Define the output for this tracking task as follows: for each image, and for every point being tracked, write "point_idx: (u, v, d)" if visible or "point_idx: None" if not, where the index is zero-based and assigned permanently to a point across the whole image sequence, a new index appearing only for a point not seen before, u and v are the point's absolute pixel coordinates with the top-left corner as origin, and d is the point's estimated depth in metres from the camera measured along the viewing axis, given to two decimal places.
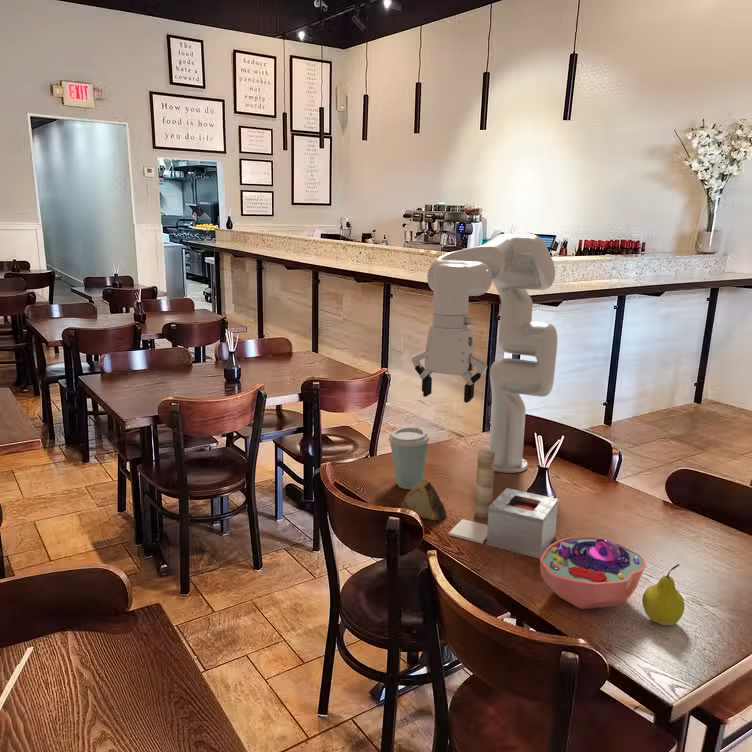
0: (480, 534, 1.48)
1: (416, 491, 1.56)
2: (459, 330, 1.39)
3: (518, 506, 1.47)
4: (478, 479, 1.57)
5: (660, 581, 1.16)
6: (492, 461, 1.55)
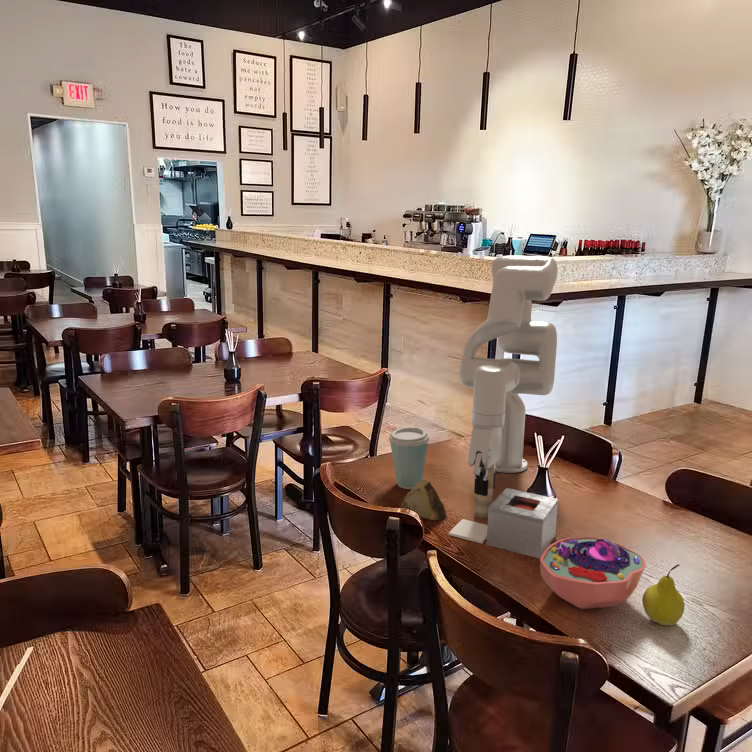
0: (480, 534, 1.48)
1: (416, 491, 1.56)
2: None
3: (518, 506, 1.47)
4: None
5: (660, 581, 1.16)
6: None
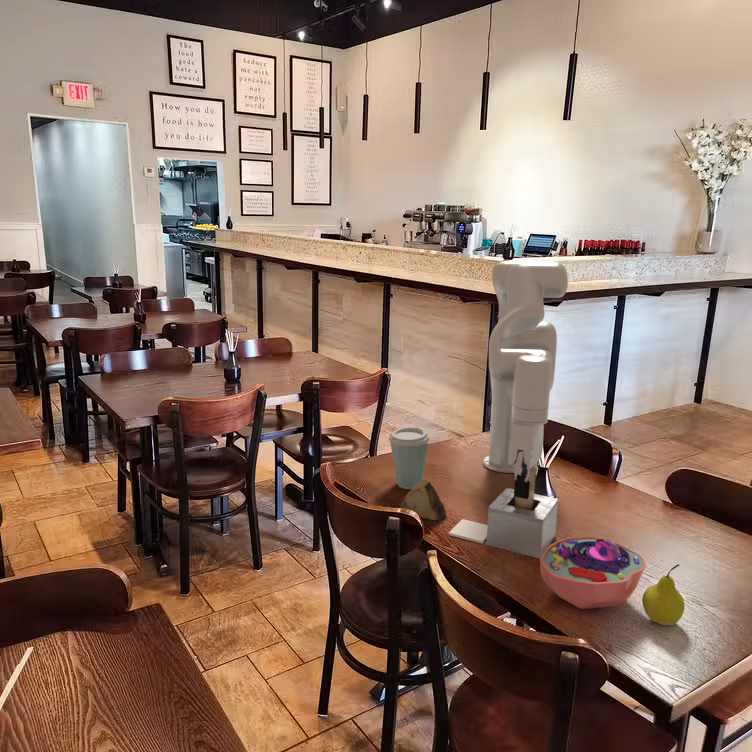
0: (480, 534, 1.48)
1: (416, 491, 1.56)
2: None
3: None
4: None
5: (660, 581, 1.16)
6: None
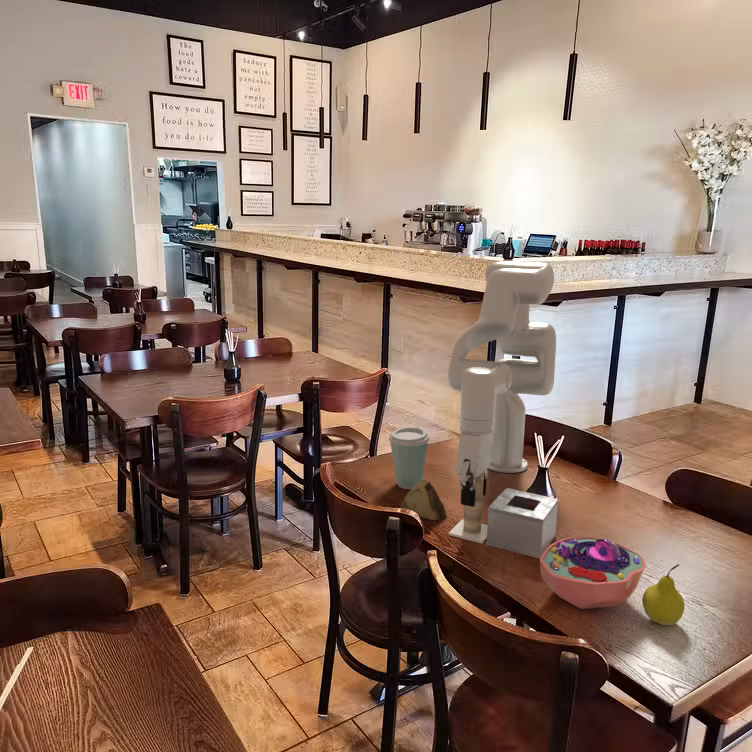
0: (480, 534, 1.48)
1: (416, 491, 1.56)
2: None
3: None
4: None
5: (660, 581, 1.16)
6: None
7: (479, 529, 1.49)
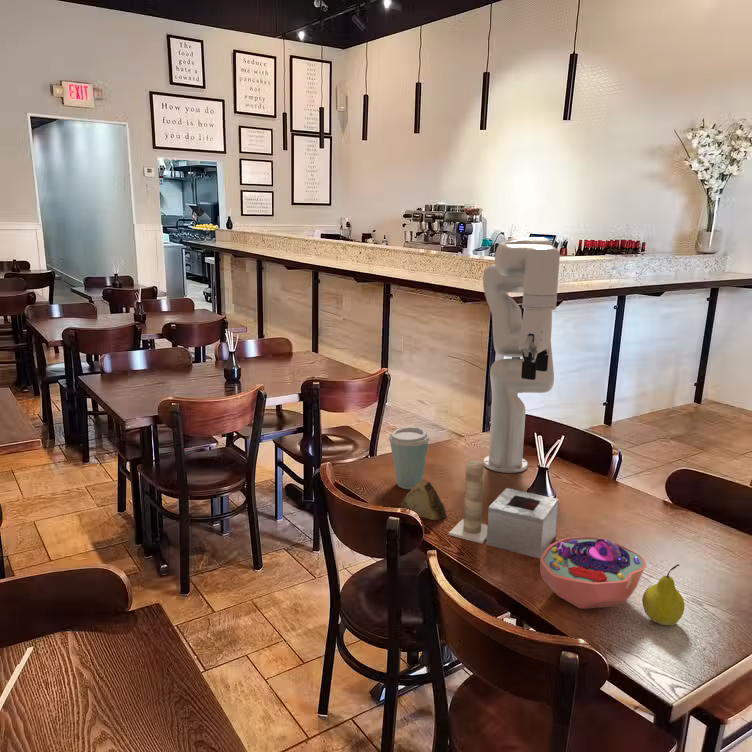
0: (480, 534, 1.48)
1: (416, 491, 1.56)
2: None
3: None
4: (466, 492, 1.48)
5: (660, 581, 1.16)
6: (481, 473, 1.46)
7: (479, 529, 1.49)
